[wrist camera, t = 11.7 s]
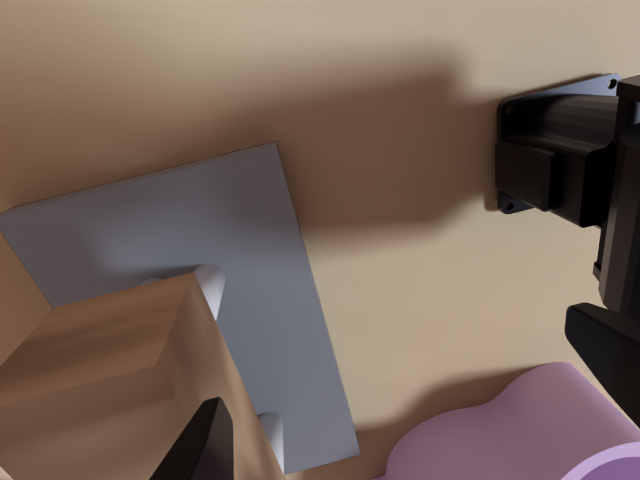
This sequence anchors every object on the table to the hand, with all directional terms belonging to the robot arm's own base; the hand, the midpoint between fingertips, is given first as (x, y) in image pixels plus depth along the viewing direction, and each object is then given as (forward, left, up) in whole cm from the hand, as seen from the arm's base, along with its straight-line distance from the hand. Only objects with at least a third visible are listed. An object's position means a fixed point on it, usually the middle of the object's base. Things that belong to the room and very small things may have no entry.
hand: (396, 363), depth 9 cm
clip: (-8, +25, -13) cm, 29 cm away
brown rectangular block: (+9, +8, -6) cm, 13 cm away
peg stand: (+9, +8, -12) cm, 17 cm away
